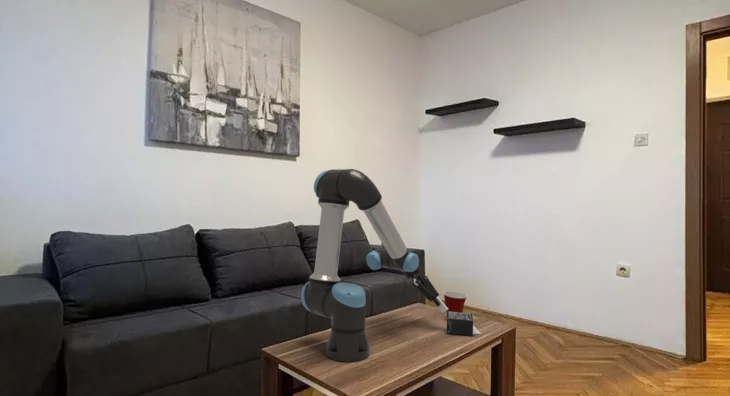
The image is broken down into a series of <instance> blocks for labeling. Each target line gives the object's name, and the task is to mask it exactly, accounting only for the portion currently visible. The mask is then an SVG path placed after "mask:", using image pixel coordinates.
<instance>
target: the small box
mask: <svg viewBox="0 0 730 396" xmlns="http://www.w3.org/2000/svg"><path fill="white" fill-rule="evenodd" d="M446 323H447V325H446V334H453V335H464V336H465V335H466V336H473V335H474V334H473V326H474V317H473V313H472V312H462V313H461V312H450V311H447V313H446Z"/></svg>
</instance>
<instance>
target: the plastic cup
mask: <svg viewBox="0 0 730 396" xmlns="http://www.w3.org/2000/svg"><path fill="white" fill-rule="evenodd" d="M442 294H443V299H444V304H445V305H446V307H447V308H448V310H447V311H450V312H461V313H464V312H463V311H464V306H465V302H466V299H467V298H468V295H467V294H465V293H463V292H459V291H453V290H447V291H446V290H445V291H443V292H442ZM447 311H446V312H445V314H447Z"/></svg>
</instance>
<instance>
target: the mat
mask: <svg viewBox="0 0 730 396" xmlns="http://www.w3.org/2000/svg"><path fill="white" fill-rule="evenodd" d="M445 326H447V322H446V323H445ZM473 335H482V333H481V331H479V330H478V329H477V327H476V326H475V325H473Z"/></svg>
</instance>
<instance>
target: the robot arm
mask: <svg viewBox="0 0 730 396" xmlns="http://www.w3.org/2000/svg"><path fill="white" fill-rule="evenodd" d="M313 191H314V193H315V196H316V197H317V198H318V203H317V204H318V205H319V207H320V208H321V209H320V211H321V212H320V218H319V219H320V220H319V226H318V234H317V235H318V238H317V245H316V253H315V263H314V271H313V273H312V274H311V275H309V278H308V281H307V282H306V283H305V285H304V286H303V287H302V289H301V293H300V295H301V296H300V300H301V303H302V307H304V309H306V310H307V311H308V312H310V313H312V314H314V315H318V316H321V317H324V318H328V319H331V323H330V325H331V330H330V334H329V336H328V340H327V343H326V344H325V355H326V357H327V358H329V359H331V360H332V361H337V362H345V363H346V362H347V363H349V362H350V363H351V362H359V361H362V360H365V359H367V358H368V357H369V356H370V344H369V342H368V341H369V340H368V337H367V335H366V331H365V330H366V309H367V308H366V306H367V299H366V291H365V289H364V288H363V287H362V286H361V285H359V284H355V283H348V282H341V278H340V277H339V276H338V270H339V262H340V261H339V260H340V252H341V244H342V234H343V226H344V225H343V224H344V217H345V211H346V210H347V209H349V207H350V202H352V203H354V204H355V205H356V207H357V209H358V210H360V211H363V213H364V215H365V216H366V218H367V220H368V221H369V223H370V225H371V226H372V228H373V231H374V232H375V234H376V235H377V236H378V239H379V240H380V242H381V244H380V246H381V247H379V248H376V249H374V250H371V252H369V253H368V254H367V255H366V257H365V259H366V260H365V261H366V264H367V267H368V268H370V269H371V270H373V271H377V270H380V269H382V268H384V269H385V268H386V269H391V270H396V271H401V272H402V273H403V276H405V277H406V279H407V280H412V281H413V283H412V285H413V287H415V288H416V289H417V290H418V291H419V292H420V293H421V294H422V295H423V296H424V297H425V298H426V299H427V300H428V302H430V303H431V302H432V303H433V304H434V305H435V306H436V307H437V308H438V310H439V311H440V312H441V313H442V314H444V313H446V311H447V310H448V308H447V307H446V305H445V302H443V300H441V298H440V297H439V296H440V293H439V292H438V291H437V290H436V288H435V287H434V285H433V283H432V282H431V281H430V279H429V277H428V276H427V275H425V274H423V273H422V272H420V271H421V269H422V267H421V266H420V259H419V255H417V254H416V253H414V252H410V251H409V249H408V247H407V245H406V244H405V242H404V240H403V238H402V236H401V234H400V233H399V230H398V229H397V227H396V225H395V224H394V221H393V220H392V218H391V216H390V214H389V212H388V211H387V209H386V206H385V205H384V203H383V201H382V199H383V196H382V194H381V191H380V190H379V189H378V187H377V186H376V184H375V183H374V182H373V181H372V180H371V179H370V178H369V176H368V175H366V174H365V173H364V172H362V171H360V170H358V169H354V168H346V169H345V168H344V169H341V168H337V169H336V168H335V169H333V168H332V169H328V170H324V171H322V172H320V173H319V174H318V175H317V176H316V178H315V179H314V183H313Z"/></svg>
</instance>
